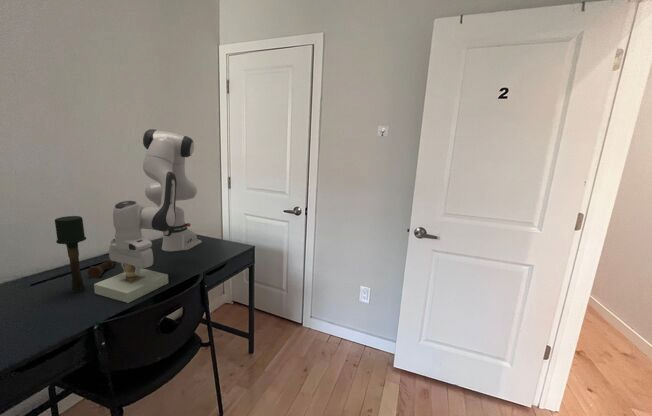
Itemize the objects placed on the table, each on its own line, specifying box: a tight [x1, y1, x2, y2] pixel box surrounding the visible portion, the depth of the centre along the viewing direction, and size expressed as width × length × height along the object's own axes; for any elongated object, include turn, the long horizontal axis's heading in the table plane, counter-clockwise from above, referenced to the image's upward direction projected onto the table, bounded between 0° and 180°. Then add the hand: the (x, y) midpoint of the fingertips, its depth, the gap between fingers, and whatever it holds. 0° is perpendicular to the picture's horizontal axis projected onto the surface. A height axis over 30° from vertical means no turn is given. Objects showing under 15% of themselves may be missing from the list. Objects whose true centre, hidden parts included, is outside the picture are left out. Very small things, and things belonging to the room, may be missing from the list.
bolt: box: [87, 258, 117, 279], centre depth 130 cm, size 6×5×15 cm
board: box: [93, 268, 169, 304], centre depth 116 cm, size 18×18×4 cm
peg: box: [125, 264, 137, 282], centre depth 115 cm, size 4×4×11 cm
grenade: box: [54, 215, 87, 293], centre depth 109 cm, size 8×9×30 cm
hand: (132, 273), depth 115 cm, fingers closed on peg, 4 cm apart
